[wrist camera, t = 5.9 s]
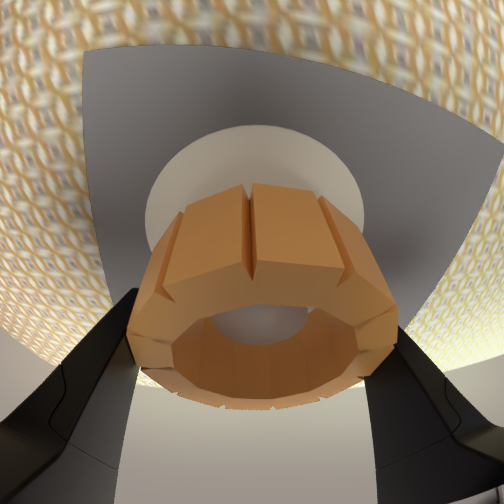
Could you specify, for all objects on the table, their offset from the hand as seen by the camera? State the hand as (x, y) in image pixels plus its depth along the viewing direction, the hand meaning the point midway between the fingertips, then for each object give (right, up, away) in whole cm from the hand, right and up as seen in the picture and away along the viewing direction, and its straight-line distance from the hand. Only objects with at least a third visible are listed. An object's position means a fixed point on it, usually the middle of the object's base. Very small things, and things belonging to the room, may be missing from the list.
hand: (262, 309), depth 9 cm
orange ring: (0, +1, +1) cm, 1 cm away
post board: (+2, +3, +4) cm, 5 cm away
